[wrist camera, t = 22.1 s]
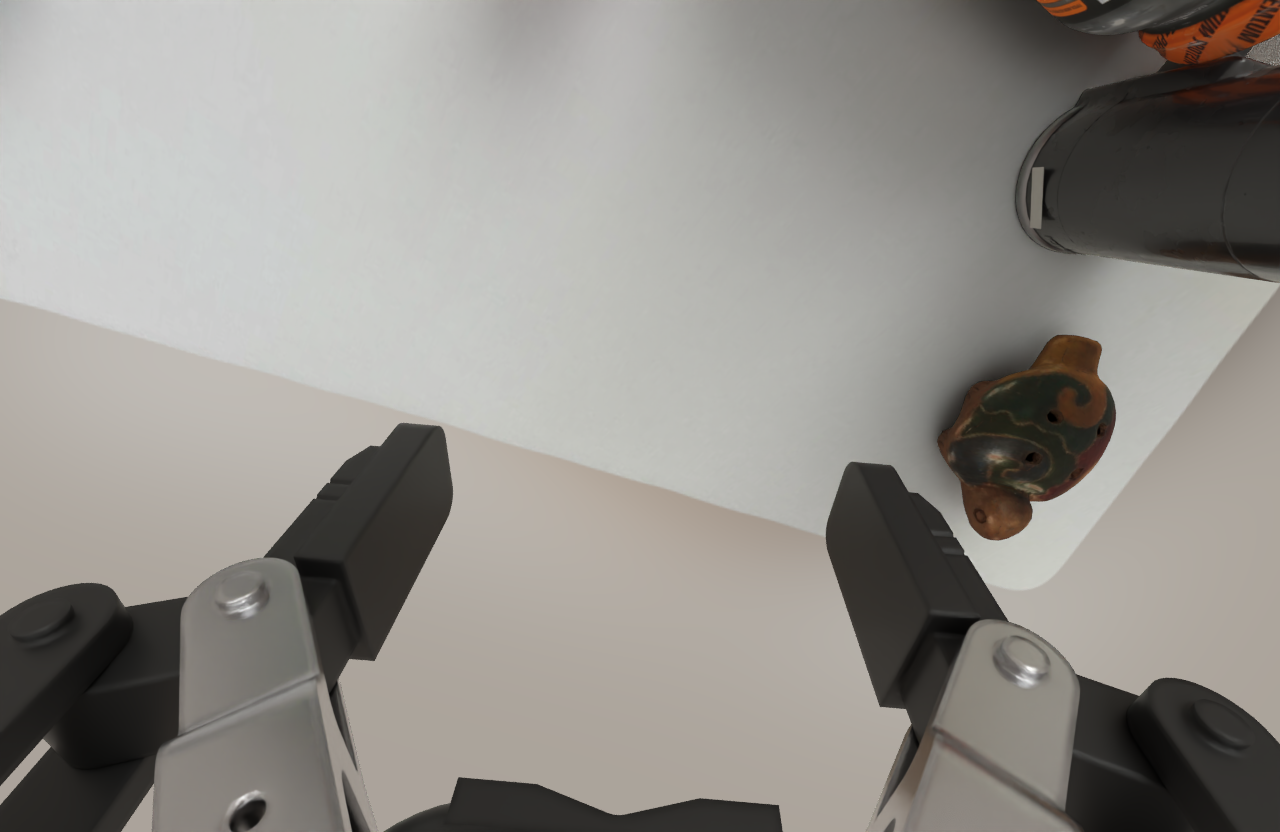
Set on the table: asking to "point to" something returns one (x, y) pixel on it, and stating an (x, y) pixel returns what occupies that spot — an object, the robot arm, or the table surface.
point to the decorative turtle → (1029, 435)
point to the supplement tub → (1176, 24)
